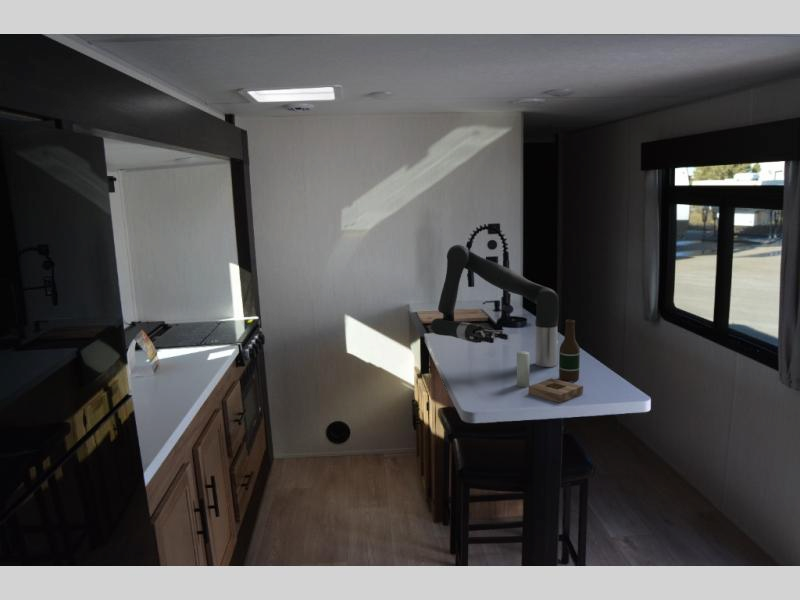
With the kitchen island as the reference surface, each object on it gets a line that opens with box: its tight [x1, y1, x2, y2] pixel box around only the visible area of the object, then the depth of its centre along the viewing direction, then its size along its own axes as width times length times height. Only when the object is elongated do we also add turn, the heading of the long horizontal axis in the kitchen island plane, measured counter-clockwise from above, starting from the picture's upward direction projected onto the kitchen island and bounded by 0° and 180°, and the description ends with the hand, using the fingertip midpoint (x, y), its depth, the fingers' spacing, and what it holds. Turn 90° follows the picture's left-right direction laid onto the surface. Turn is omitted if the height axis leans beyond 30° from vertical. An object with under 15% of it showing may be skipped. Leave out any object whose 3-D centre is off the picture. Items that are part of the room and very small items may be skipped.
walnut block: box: [528, 377, 584, 404], centre depth 226 cm, size 14×14×3 cm
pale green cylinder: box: [516, 350, 531, 388], centre depth 237 cm, size 5×5×13 cm
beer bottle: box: [558, 319, 581, 382], centre depth 242 cm, size 8×8×24 cm
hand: (500, 338), depth 243 cm, fingers open, 8 cm apart
